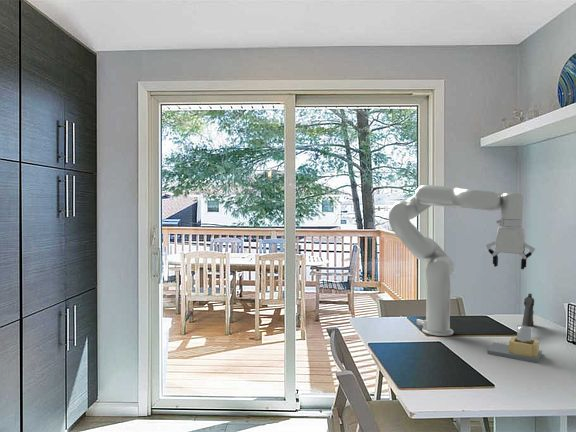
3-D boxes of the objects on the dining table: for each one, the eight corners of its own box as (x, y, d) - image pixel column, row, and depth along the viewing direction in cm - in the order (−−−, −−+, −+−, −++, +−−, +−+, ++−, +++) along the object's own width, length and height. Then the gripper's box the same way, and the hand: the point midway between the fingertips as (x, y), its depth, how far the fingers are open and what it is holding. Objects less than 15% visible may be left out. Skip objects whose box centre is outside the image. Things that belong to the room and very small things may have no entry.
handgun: (529, 364, 180) (529, 333, 175) (519, 363, 182) (518, 332, 177) (534, 322, 204) (534, 293, 199) (525, 320, 206) (525, 292, 201)
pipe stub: (515, 352, 160) (516, 327, 159) (517, 349, 163) (518, 324, 163) (529, 354, 157) (530, 329, 157) (530, 351, 161) (532, 326, 161)
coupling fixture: (487, 353, 162) (487, 339, 162) (494, 345, 171) (494, 332, 171) (537, 362, 152) (538, 347, 152) (541, 353, 162) (542, 339, 162)
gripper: (485, 223, 177) (483, 266, 178) (534, 225, 167) (532, 271, 167) (489, 222, 183) (487, 264, 184) (537, 225, 173) (535, 269, 173)
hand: (509, 267), depth 175 cm, fingers open, 9 cm apart
